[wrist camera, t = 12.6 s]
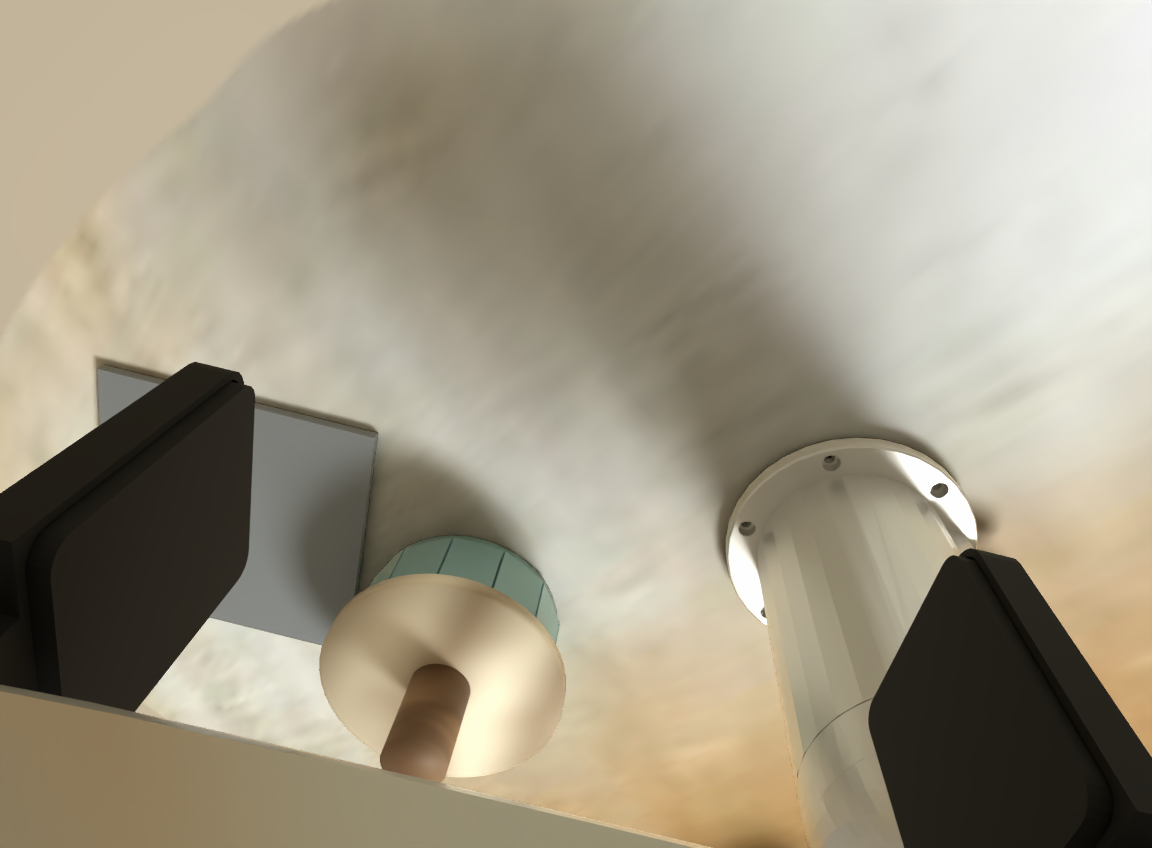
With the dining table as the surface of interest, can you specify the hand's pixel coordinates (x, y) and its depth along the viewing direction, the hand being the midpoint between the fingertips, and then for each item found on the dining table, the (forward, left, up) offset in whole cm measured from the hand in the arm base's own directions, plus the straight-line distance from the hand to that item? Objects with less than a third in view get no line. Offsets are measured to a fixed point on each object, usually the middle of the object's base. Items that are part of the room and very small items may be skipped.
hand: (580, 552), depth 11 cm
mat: (+18, +23, -28) cm, 41 cm away
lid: (+4, +26, -23) cm, 35 cm away
